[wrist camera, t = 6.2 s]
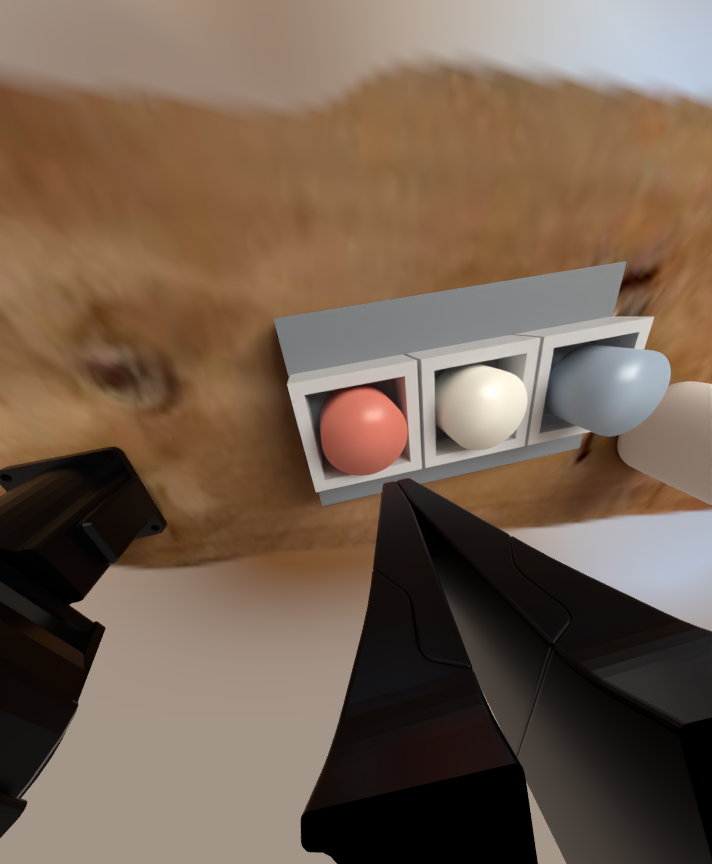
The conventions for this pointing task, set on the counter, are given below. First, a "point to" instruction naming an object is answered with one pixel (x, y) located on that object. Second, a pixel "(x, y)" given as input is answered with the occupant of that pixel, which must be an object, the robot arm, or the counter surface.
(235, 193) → the counter surface
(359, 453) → the button red
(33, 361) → the counter surface
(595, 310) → the console
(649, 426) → the milk bottle
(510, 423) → the button ivory
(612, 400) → the button blue
